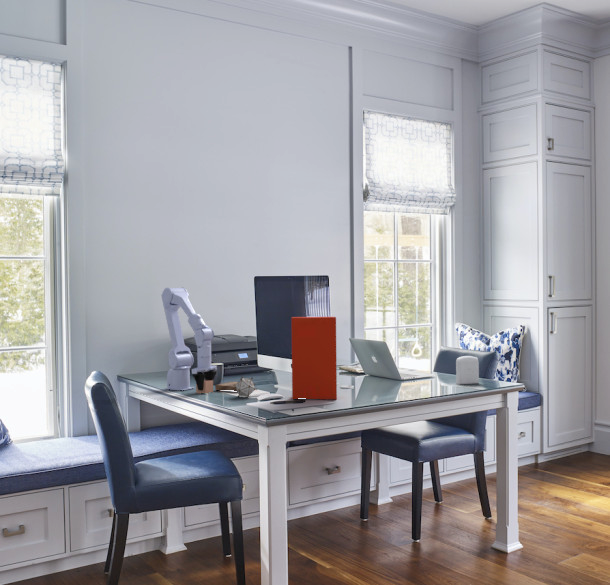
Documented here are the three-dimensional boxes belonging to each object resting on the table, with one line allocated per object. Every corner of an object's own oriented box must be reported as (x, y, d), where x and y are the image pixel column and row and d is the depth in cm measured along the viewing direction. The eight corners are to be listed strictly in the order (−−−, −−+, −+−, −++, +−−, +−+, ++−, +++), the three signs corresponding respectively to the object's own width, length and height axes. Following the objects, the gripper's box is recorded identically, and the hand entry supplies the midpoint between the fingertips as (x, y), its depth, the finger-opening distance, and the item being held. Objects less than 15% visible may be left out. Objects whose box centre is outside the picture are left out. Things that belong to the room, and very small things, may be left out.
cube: (196, 393, 303) (196, 381, 303) (203, 391, 308) (203, 379, 308) (205, 393, 301) (205, 381, 301) (213, 392, 305) (213, 380, 305)
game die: (250, 406, 292) (265, 386, 292) (238, 401, 286) (253, 380, 285) (237, 393, 298) (251, 373, 298) (225, 388, 291) (240, 368, 291)
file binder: (292, 396, 291) (291, 316, 291) (335, 396, 291) (334, 316, 291) (292, 400, 283) (291, 317, 282) (336, 399, 283) (336, 317, 283)
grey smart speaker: (458, 384, 321) (458, 356, 320) (454, 383, 325) (454, 355, 325) (480, 383, 322) (480, 356, 322) (476, 382, 327) (476, 355, 326)
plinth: (215, 390, 309) (215, 385, 309) (232, 387, 319) (232, 381, 319) (238, 392, 303) (238, 386, 303) (254, 389, 313) (254, 383, 313)
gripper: (201, 358, 296) (201, 392, 296) (222, 355, 308) (222, 387, 309) (187, 358, 299) (187, 391, 300) (209, 354, 312) (209, 386, 312)
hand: (204, 389), depth 304 cm, fingers closed on cube, 5 cm apart
